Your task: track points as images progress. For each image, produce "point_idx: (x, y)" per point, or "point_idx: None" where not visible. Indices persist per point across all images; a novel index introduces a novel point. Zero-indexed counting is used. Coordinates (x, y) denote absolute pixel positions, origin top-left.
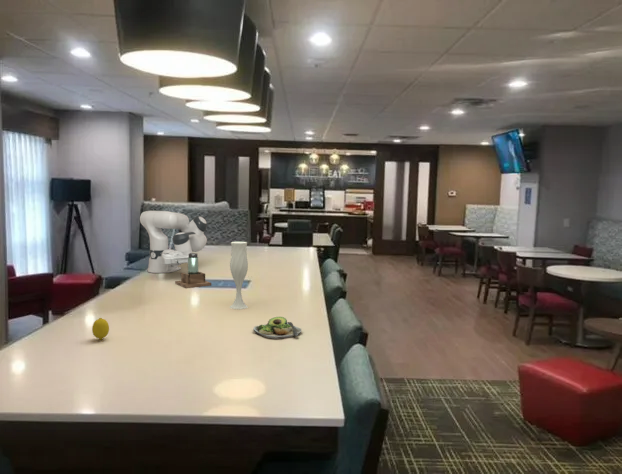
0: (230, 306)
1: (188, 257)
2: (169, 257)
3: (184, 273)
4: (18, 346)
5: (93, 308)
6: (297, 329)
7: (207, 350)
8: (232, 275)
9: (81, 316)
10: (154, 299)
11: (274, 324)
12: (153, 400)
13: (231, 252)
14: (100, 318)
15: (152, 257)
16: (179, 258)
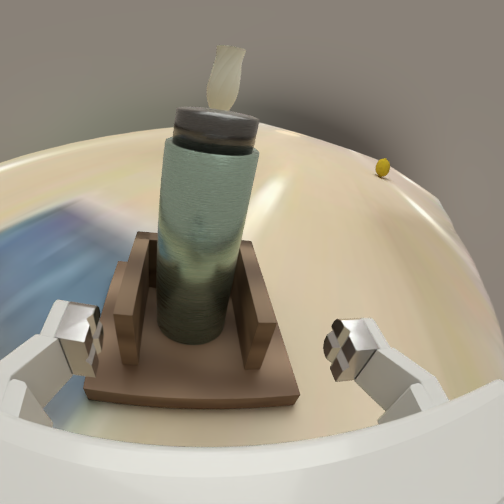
0: None
1: (254, 152)
2: (498, 459)
3: (259, 288)
4: (432, 196)
5: (446, 238)
6: None
7: (294, 143)
8: (232, 104)
9: (437, 221)
10: (364, 231)
11: None
12: (327, 143)
13: (240, 66)
14: (385, 158)
15: None
16: (309, 441)
